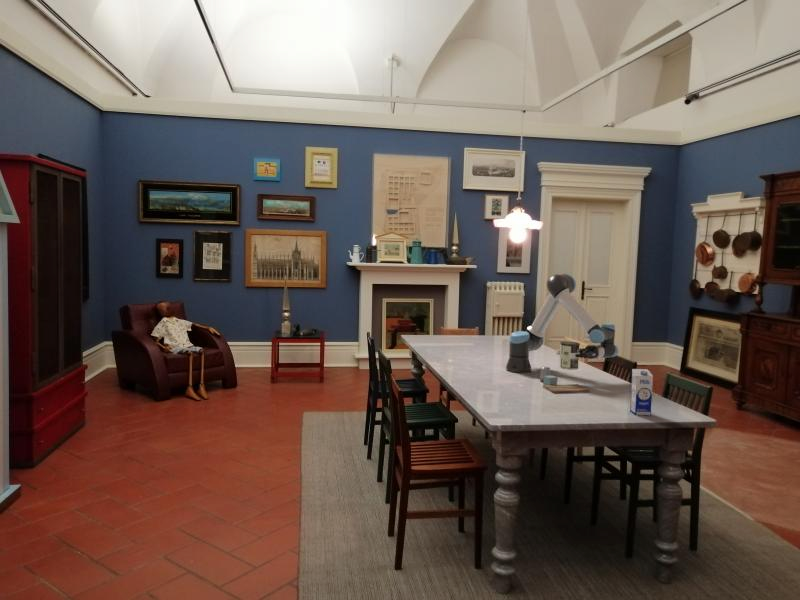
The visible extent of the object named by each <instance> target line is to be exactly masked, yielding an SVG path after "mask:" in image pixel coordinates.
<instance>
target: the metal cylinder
mask: <svg viewBox="0 0 800 600" xmlns="http://www.w3.org/2000/svg"><path fill="white" fill-rule="evenodd" d="M539 373H540V377H539V378H540V379H539V380H540V383H543V384H544V376H550V374H551V369H550V367H549V366H541V367H540V372H539Z"/></svg>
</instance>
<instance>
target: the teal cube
mask: <svg viewBox="0 0 800 600" xmlns="http://www.w3.org/2000/svg"><path fill="white" fill-rule="evenodd" d="M543 385H558V377H557V376H554V375H552V374H551V375H550V376H544V383H543ZM543 385H542V386H543Z"/></svg>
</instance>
